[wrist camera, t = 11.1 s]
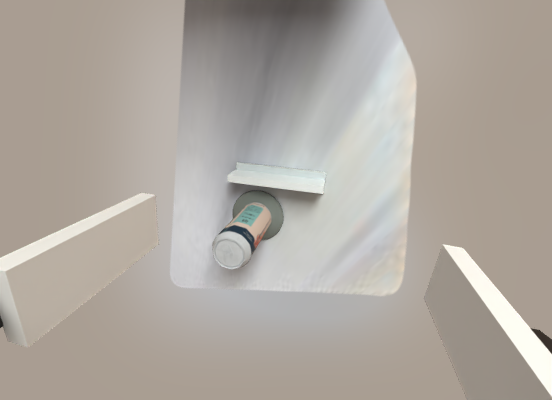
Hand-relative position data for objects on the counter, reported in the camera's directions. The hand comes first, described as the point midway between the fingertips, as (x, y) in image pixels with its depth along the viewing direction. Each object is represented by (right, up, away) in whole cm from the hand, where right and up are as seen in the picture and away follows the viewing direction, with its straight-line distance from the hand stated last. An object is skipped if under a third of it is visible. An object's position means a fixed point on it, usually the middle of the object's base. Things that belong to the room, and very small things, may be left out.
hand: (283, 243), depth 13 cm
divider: (0, +5, +28) cm, 28 cm away
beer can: (-3, 0, +30) cm, 30 cm away
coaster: (-3, 0, +30) cm, 30 cm away
